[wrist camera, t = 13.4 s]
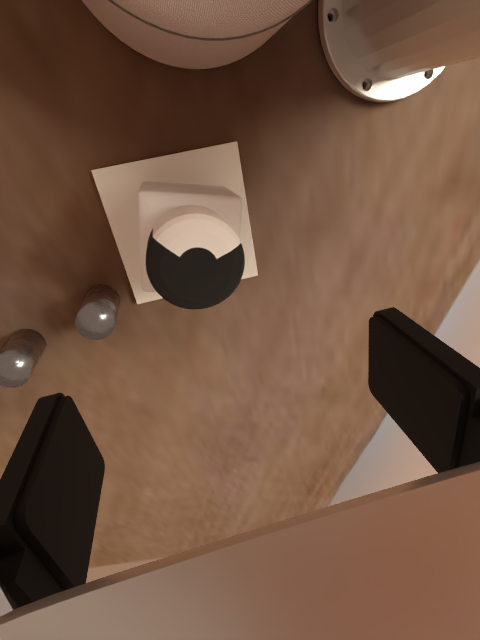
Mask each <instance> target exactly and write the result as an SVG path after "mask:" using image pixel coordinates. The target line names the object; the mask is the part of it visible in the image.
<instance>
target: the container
mask: <svg viewBox="0 0 480 640" xmlns="http://www.w3.org/2000/svg"><path fill="white" fill-rule="evenodd" d="M312 1H313V0H82V2H83V3H84V4H85V5H86V6H87V8H88V9H89V10H90V11H91V12H92V14H93V15H94V16H95V17H96V18H97V19H98V20H99V21H100V22H101V23H102V24H103V25H104V26H105V27H106V28H107V29H108V30H109V31H110V32H111V33H112V34H114V35H115V36H116V37H117V38H118V39H120V40H121V41H122V42H124V43H125V44H126V45H128V46H129V47H131V48H132V49H134V50H135V51H137V52H139V53H141V54H143V55H145V56H146V57H148V58H151V59H153V60H156V61H158V62H160V63H163V64H167V65H171V66H174V67H180V68H187V69H208V68H215V67H220V66H223V65H227V64H230V63H233V62H235V61H237V60H240V59H242V58H244V57H245V56H247V55H249V54H250V53H252V52H254V51H255V50H256V49H258V48H259V47H260V46H261V45H263V44H264V43H265V42H266V41H267V40H268V39H269V38H270V37H272V36H273V35H274V34H275V33H276V32H277V31H278V30H279V29H280V28H281V27H282V26H283V25H284V24H285V23H286V22H288V21H289V20H290V19H291V18H292V17H293V16H294V15H296V14H297V13H298V12H299V11H301V10H302V9H303V8H305V7H306V6H307V5H308V4H309V3H310V2H312Z"/></svg>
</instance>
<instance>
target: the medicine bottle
mask: <svg viewBox="0 0 480 640" xmlns="http://www.w3.org/2000/svg"><path fill="white" fill-rule="evenodd" d="M137 205H138V226H139V248H140V269H141V287H142V290H143V291H144V292H157V293H158V294H159V295H160V296H161V297H162V298H163V299H165V300H166V301H168V302H169V303H171V304H173V305H175V306H178V307H181V308H186V309H203V308H208V307H211V306H214V305H216V304H219V303H220V302H222V301H223V300H225V299H226V298H227V297H229V296H230V295H231V294H232V293H233V292H234V290H235V289H236V288H237V286H238V284H239V282H240V281H241V278H242V275H243V272H244V266H245V256H244V250H243V247H242V244H241V242H240V228H241V215H242V198H241V197H240V196H238V195H237V194H235V193H234V192H232V191H231V190H229V189H228V188H226V187H224V186H215V185H199V184H183V183H167V182H151V181H144V182H143V183H142V184H141V187H140V189H139V191H138V194H137Z"/></svg>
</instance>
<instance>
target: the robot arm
mask: <svg viewBox="0 0 480 640" xmlns="http://www.w3.org/2000/svg"><path fill="white" fill-rule="evenodd" d="M327 15H329V16H330V18H331V21H329V20H328V17H327ZM318 26H319V32H320V38H321V45H322V48H323V51H324V54H325V57H326V60H327V62H328V64H329V66H330V68H331V70H332V72H333V73H334V75H335V77H336V78H337V79H338V80H339V81H340V83H341V84H342V85H343V86H344V87H345V88H346V89H347V90H349V91H350V92H351V93H353V94H354V95H356V96H358V97H360V98H362V99H364V100H367V101H373V102H391V101H396V100H400V99H404V98H406V97H409V96H411V95H413V94H416V93H417V92H419V91H420V90H422V89H423V88H425V87H426V86H428V85H429V84H430V83H431V82H432V81H433V80H434V79H435V78H436V77H437V76H438V75H439V74H440V73H441V72H442V71H443V69H444V68H445V67H446V66H448V65H451V64H455V63H459V62H463V61H467V60H470V59H474V58H478V57H480V0H319V3H318ZM362 84H364V88H363V87H362ZM368 383H369V388H370V391H371V393H372V394H373V396H374V397H375V398H376V399H377V401H378V402H379V403H380V404H381V405H382V407H383V408H384V409H385V410H386V411H387V413H388V414H389V415H390V416H391V417H392V419H393V420H394V421H395V422H396V423H397V424H398V425H399V427H400V428H401V429H402V430H403V432H404V433H405V434H406V435H407V436H408V438H409V439H410V440H411V441H412V442H413V444H414V445H415V446H416V447H417V448H418V449H419V451H420V452H421V453H422V454H423V456H424V457H425V458H426V459H427V460H428V461H429V463H430V464H431V465H432V466H433V467H434V469H435V470H436V471H437V472H438V474H434V475H431V476H427V477H424V478H421V479H418V480H414V481H411V482H408V483H405V484H402V485H398V486H395V487H392V488H388V489H385V490H381V491H378V492H375V493H372V494H368V495H365V496H362V497H359V498H355V499H352V500H349V501H345V502H342V503H339V504H335V505H333V506H329V507H326V508H322V509H319V510H316V511H313V512H310V513H306V514H303V515H300V516H297V517H293V518H290V519H287V520H284V521H280V522H277V523H274V524H271V525H268V526H264V527H261V528H258V529H255V530H252V531H248V532H245V533H242V534H239V535H235V536H232V537H229V538H226V539H223V540H219V541H216V542H213V543H210V544H207V545H204V546H200V547H197V548H194V549H191V550H188V551H185V552H182V553H178V554H175V555H172V556H169V557H166V558H163V559H159V560H156V561H153V562H150V563H147V564H144V565H141V566H137V567H134V568H131V569H128V570H125V571H122V572H119V573H116V574H113V575H110V576H107V577H104V578H101V579H98V580H95V581H92V582H89V583H86V578H87V572H88V566H89V560H90V554H91V548H92V542H93V536H94V530H95V524H96V518H97V512H98V506H99V500H100V494H101V489H102V483H103V477H104V470H105V464H104V460H103V457H102V455H101V453H100V451H99V449H98V447H97V445H96V443H95V442H94V440H93V438H92V436H91V434H90V432H89V430H88V428H87V426H86V424H85V422H84V420H83V418H82V417H81V415H80V413H79V411H78V409H77V407H76V405H75V403H74V401H73V399H72V398H71V397H70V396H64V395H63V394H62V393H57V394H53V395H49V396H45V397H42V398H39V399H38V401H37V403H36V405H35V407H34V409H33V411H32V413H31V416H30V418H29V420H28V422H27V424H26V426H25V428H24V430H23V433H22V435H21V437H20V439H19V441H18V443H17V445H16V448H15V450H14V452H13V454H12V456H11V458H10V460H9V462H8V465H7V467H6V469H5V471H4V473H3V475H2V477H1V479H0V640H480V368H479V367H477V366H476V365H475V364H473V363H472V362H470V361H469V360H468V359H466V358H465V357H463V356H462V355H461V354H459V353H458V352H456V351H455V350H454V349H452V348H451V347H449V346H448V345H447V344H445V343H444V342H442V341H441V340H440V339H438V338H437V337H435V336H434V335H432V334H431V333H430V332H428V331H427V330H425V329H424V328H423V327H421V326H420V325H418V324H417V323H416V322H414V321H413V320H411V319H410V318H409V317H407V316H406V315H404V314H403V313H402V312H400V311H399V310H397V309H396V308H394V307H393V308H388V309H384V310H380V311H376V312H375V313H374V315H373V317H371V318H370V320H369V379H368Z"/></svg>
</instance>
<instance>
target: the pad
mask: <svg viewBox="0 0 480 640" xmlns="http://www.w3.org/2000/svg"><path fill="white" fill-rule="evenodd" d="M91 172H92V174H93V177H94V180H95V183H96V186H97V189H98V192H99V195H100V198H101V200H102V203H103V206H104V209H105V212H106V215H107V218H108V221H109V224H110V227H111V229H112V232H113V235H114V238H115V241H116V244H117V247H118V250H119V253H120V255H121V258H122V261H123V264H124V267H125V270H126V273H127V276H128V279H129V282H130V284H131V287H132V290H133V293H134V296H135V299H136V302H137V304H141V303H145V302H149V301H153V300H157V299H162V297H161V296H160V295H159V294H158V293H157V292H144V291H143V290H142V287H141V269H140V248H139V226H138V205H137V194H138V191H139V189H140V187H141V184H142V183H143V182H144V181H151V182H167V183H183V184H199V185H215V186H224V187H226V188H228V189H229V190H231V191H232V192H234V193H235V194H237V195H238V196H240V197H241V198H242V215H241V228H240V242H241V244H242V247H243V250H244V256H245V266H244V272H243V275H242V278H241V279H245V278H249V277H253V276H258V272H257V266H256V259H255V253H254V246H253V240H252V234H251V227H250V221H249V214H248V208H247V201H246V195H245V189H244V182H243V176H242V169H241V163H240V156H239V150H238V144H237V141H236V142H230V143H225V144H220V145H215V146H210V147H205V148H200V149H195V150H190V151H185V152H180V153H175V154H170V155H165V156H160V157H155V158H150V159H145V160H140V161H135V162H130V163H125V164H120V165H115V166H110V167H105V168H100V169H95V170H91Z"/></svg>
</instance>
